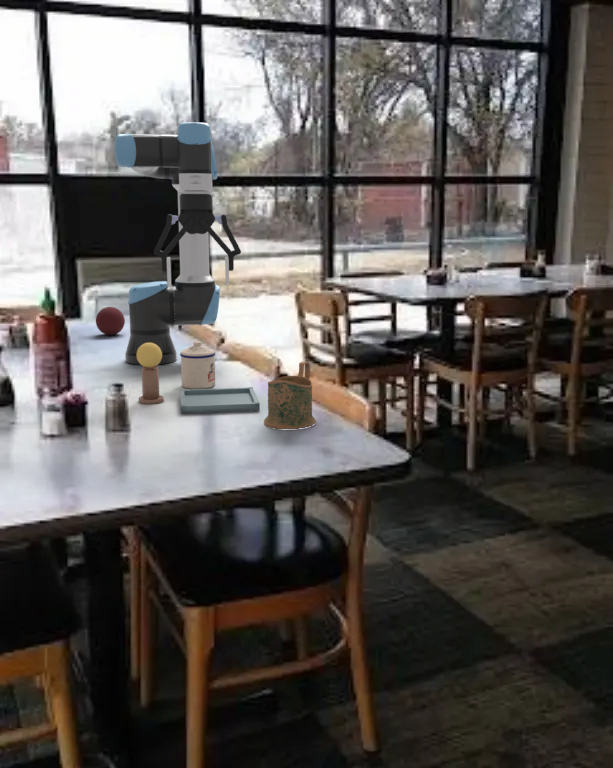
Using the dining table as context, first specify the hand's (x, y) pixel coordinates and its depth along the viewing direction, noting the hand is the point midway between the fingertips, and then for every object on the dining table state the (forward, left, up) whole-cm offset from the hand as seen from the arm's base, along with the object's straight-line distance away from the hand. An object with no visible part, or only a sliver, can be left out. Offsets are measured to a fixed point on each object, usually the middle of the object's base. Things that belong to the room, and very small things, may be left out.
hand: (198, 285), depth 188 cm
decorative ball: (-96, -28, -28) cm, 104 cm away
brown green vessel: (+21, +20, -28) cm, 40 cm away
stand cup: (0, -12, -28) cm, 30 cm away
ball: (0, -12, -16) cm, 20 cm away
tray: (+5, +4, -28) cm, 29 cm away
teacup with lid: (-16, 0, -28) cm, 32 cm away
